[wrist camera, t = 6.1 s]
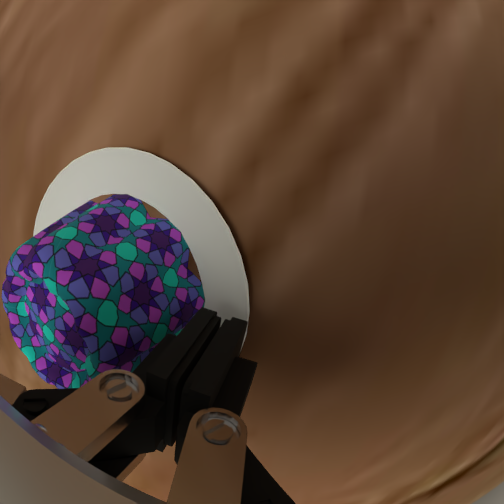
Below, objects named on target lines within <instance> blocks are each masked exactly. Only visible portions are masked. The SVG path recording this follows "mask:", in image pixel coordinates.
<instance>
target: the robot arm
mask: <svg viewBox="0 0 504 504" xmlns="http://www.w3.org/2000/svg"><path fill="white" fill-rule="evenodd" d="M220 324H221V317H218V316H217V312H216V311H213V310H210V309H207V308H204V307H201V308H200V309H199V310H198V312H197V313H196V314H195V315H194V316H193V317H192V319H191V320H190V321H189V322H188V323H187V324H186V326H185V327H184V328H183V329H182V330H181V332H180V333H179V334H178V335H177V336H176V335H173V334H170V333H169V334H167V335H166V336H165V337H164V338H163V339H162V340H161V341H160V342H159V343H158V344H157V346H156V347H155V348H154V349H153V350H152V351H151V352H150V353H149V354H148V355H147V356H146V358H145V359H144V360H143V361H142V362H141V363H140V364H139V365H138V366H137V367H136V369H135V370H134V371H133V372H132V373H131V372H129V371H126V370H122V369H112V370H107V371H104V372H102V373H100V374H99V375H97V376H96V377H95V378H93V379H92V380H90V381H89V382H87V383H86V384H84V385H83V386H82V387H80V388H67V389H35V390H28V391H27V390H26V387H25V386H23V385H21V384H19V383H17V382H15V381H13V380H11V379H9V378H8V377H6V376H4V375H2V374H0V504H295V502H294V501H293V500H292V499H291V498H290V497H289V496H288V495H287V494H286V492H285V491H284V490H283V489H282V488H281V487H280V486H279V484H278V483H277V482H276V481H275V480H274V479H273V477H272V476H271V475H270V474H269V473H268V471H267V470H266V469H265V468H264V467H263V465H262V464H261V463H260V462H259V461H258V459H257V458H256V457H255V456H254V454H253V453H252V452H251V450H250V449H249V448H248V447H247V445H246V443H247V427H246V425H245V423H244V421H243V420H242V419H241V418H240V415H241V412H242V409H243V407H244V404H245V401H246V398H247V395H248V392H249V389H250V386H251V383H252V380H253V376H254V373H255V370H256V367H257V362H253V361H250V360H247V359H243V358H240V357H239V355H240V351H241V348H242V344H243V340H244V336H245V332H246V328H247V324H248V321H245V320H242V319H238V318H235V317H232V318H231V320H228V319H225V320H224V322H223V323H222V325H221V326H220ZM175 441H176V447H175V459H174V460H175V462H176V463H177V468H176V471H175V475H174V478H173V482H172V485H171V489H170V492H169V496H168V499H167V502H164V501H162V500H159V499H157V498H155V497H153V496H150V495H148V494H146V493H144V492H141V491H139V490H137V489H135V488H133V487H131V486H129V485H127V484H125V483H123V482H122V481H123V480H124V479H125V478H126V477H127V476H128V475H129V474H130V473H131V472H132V471H133V470H134V469H135V468H136V467H137V465H138V464H139V463H140V462H141V461H142V460H143V459H144V457H145V456H146V453H149V452H154V451H155V450H156V449H157V450H159V451H161V452H163V450H164V449H165V447H166V445H169V446H173V444H174V443H175Z"/></svg>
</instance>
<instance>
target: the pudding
mask: <svg viewBox="0 0 504 504" xmlns="http://www.w3.org/2000/svg"><path fill="white" fill-rule="evenodd" d="M106 194H118V195H113V196H111V197H109V198H107V199H105V200H104V201H102V202H100V203H99V204H97V203H95V202H93V201H89V200H90V199H93V198H95V197H98V196H100V195H106ZM137 198H138V199H137ZM139 199H140V200H139ZM141 200H142V201H144V202H146V203H148V204H149V205H151V206H153V207H154V208H156V209H157V210H158V211H159V212H161V213H162V214H163V215H164V216H165V217H166V218H168V219H169V220H168V219H160V218H150V216H149V215H148V213H147V211H146V209H145V207H144V205H143V204H142V202H141ZM87 201H89V202H87ZM86 202H87V203H86ZM189 248H190V250H191V253H192V255H193V257H194V260H195V262H196V264H197V267H198V271H199V274H200V278H201V281H200V280H199V279H198V278H197V277H196V276H195V275H194V274H193V273H192V272H191V271H190V270H189V269H188V257H189ZM2 300H3V305H4V309H5V311H6V313H7V315H8V317H9V322H10V330H11V333H12V336H13V338H14V340H15V342H16V344H17V345H18V347H19V349H20V350H21V351H22V352H23V353H24V354H25V355H26V356H27V357H28V360H29V362H30V364H31V366H32V368H33V369H34V370H35V371H36V373H37V374H38V375H39V376H40V377H41V378H42V379H43V380H44V381H46V382H47V383H49V384H53V385H55V386H56V387H57V388H58V389H67V388H80V387H82V386H83V385H84V384H86V383H87V382H89V381H90V380H92V379H93V378H95V377H96V376H97V375H99V374H100V373H102V372H104V371H107V370H112V369H122V370H126V371H129V372H131V373H132V372H133V371H134V370H135V369H136V367H137V366H138V365H139V364H140V363H141V362H142V361H143V360H144V359H145V358H146V356H147V355H148V354H149V353H150V352H151V351H152V350H153V349H154V348H155V347H156V346H157V344H158V343H159V342H160V341H161V340H162V339H163V338H164V337H165V336H166V335H167V334H169V333H170V334H173V335H176V336H177V335H178V334H179V333H180V332H181V330H182V329H183V328H184V327H185V326H186V324H187V323H188V322H189V321H190V320H191V319H192V317H193V316H194V315H195V314H196V313H197V312H198V310H199V309H200V308H201V307H204V308H207V309H210V310H213V311H216V312H217V316H218V317H221V324H220V326H221V325H222V323H223V322H224V320H225V319H228V320H231V318H232V317H235V318H238V319H242V320H245V321H248V320H249V312H250V309H249V292H248V282H247V278H246V274H245V270H244V266H243V261H242V257H241V254H240V252H239V250H238V247H237V245H236V243H235V240H234V238H233V236H232V233H231V231H230V228H229V227H228V225H227V224H226V222H225V220H224V219H223V217H222V216H221V214H220V213H219V211H218V209H217V208H216V206H215V205H214V203H213V202H212V201H211V199H210V198H209V197H208V196H207V195H206V194H205V193H204V192H203V191H202V190H201V188H200V187H199V186H198V185H197V184H196V183H195V182H194V181H193V180H192V179H191V178H190V177H188V176H187V175H186V174H184V173H183V172H182V171H180V170H179V169H178V168H177V167H175V166H174V165H173V164H171V163H169V162H167V161H165V160H163V159H161V158H159V157H157V156H155V155H153V154H151V153H148V152H144V151H140V150H136V149H132V148H104V149H100V150H96V151H92V152H89V153H87V154H85V155H83V156H81V157H79V158H77V159H75V160H73V161H72V162H71V163H70V164H69V165H68V166H66V167H65V168H64V169H63V170H62V171H61V172H60V173H59V174H58V175H57V177H56V178H55V179H54V180H53V182H52V183H51V184H50V186H49V188H48V190H47V191H46V193H45V195H44V197H43V199H42V201H41V204H40V207H39V211H38V214H37V217H36V222H35V228H34V234H33V237H32V238H30V239H29V240H28V241H26V242H25V243H23V244H22V245H21V246H19V247H18V248H17V249H16V250H15V251H14V253H13V254H12V256H11V257H10V259H9V262H8V264H7V268H6V280H5V281H4V283H3V287H2ZM247 327H248V324H247ZM246 335H247V328H246V332H245V336H244V340H243V343H244V341H245V338H246ZM242 346H243V344H242ZM241 349H242V348H241ZM240 352H241V351H240Z"/></svg>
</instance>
